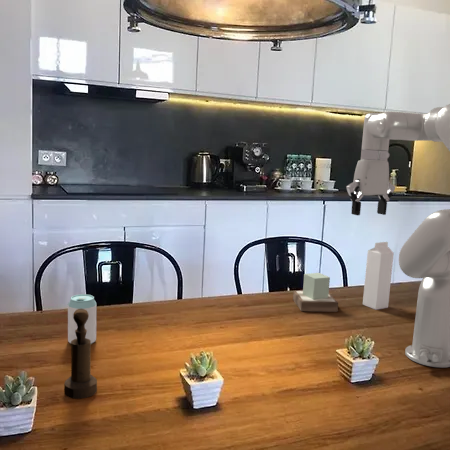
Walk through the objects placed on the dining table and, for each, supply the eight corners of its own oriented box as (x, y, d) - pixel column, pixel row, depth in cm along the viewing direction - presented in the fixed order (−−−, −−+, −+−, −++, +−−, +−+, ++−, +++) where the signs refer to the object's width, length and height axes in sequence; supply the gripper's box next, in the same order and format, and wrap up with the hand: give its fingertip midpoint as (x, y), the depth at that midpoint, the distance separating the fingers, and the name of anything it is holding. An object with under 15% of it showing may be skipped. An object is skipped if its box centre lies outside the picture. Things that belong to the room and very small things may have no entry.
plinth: (337, 311, 172) (338, 302, 171) (301, 311, 170) (301, 301, 170) (327, 300, 183) (327, 291, 183) (292, 299, 182) (293, 290, 182)
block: (328, 297, 175) (329, 277, 174) (313, 299, 172) (314, 278, 171) (317, 292, 180) (319, 272, 179) (302, 294, 178) (304, 273, 177)
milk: (362, 304, 180) (367, 241, 177) (374, 302, 184) (380, 239, 180) (376, 310, 175) (382, 244, 172) (388, 307, 179) (394, 243, 175)
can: (99, 344, 136) (100, 299, 134) (72, 349, 133) (72, 303, 130) (91, 335, 142) (91, 292, 140) (64, 339, 138) (64, 295, 136)
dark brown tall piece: (84, 381, 116) (85, 302, 113) (103, 391, 112) (104, 309, 109) (58, 391, 111) (57, 309, 108) (76, 402, 107) (76, 317, 104)
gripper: (388, 156, 162) (382, 212, 165) (342, 154, 154) (337, 213, 157) (406, 157, 155) (399, 215, 158) (358, 156, 148) (353, 217, 151)
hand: (368, 214), depth 158 cm, fingers open, 9 cm apart
